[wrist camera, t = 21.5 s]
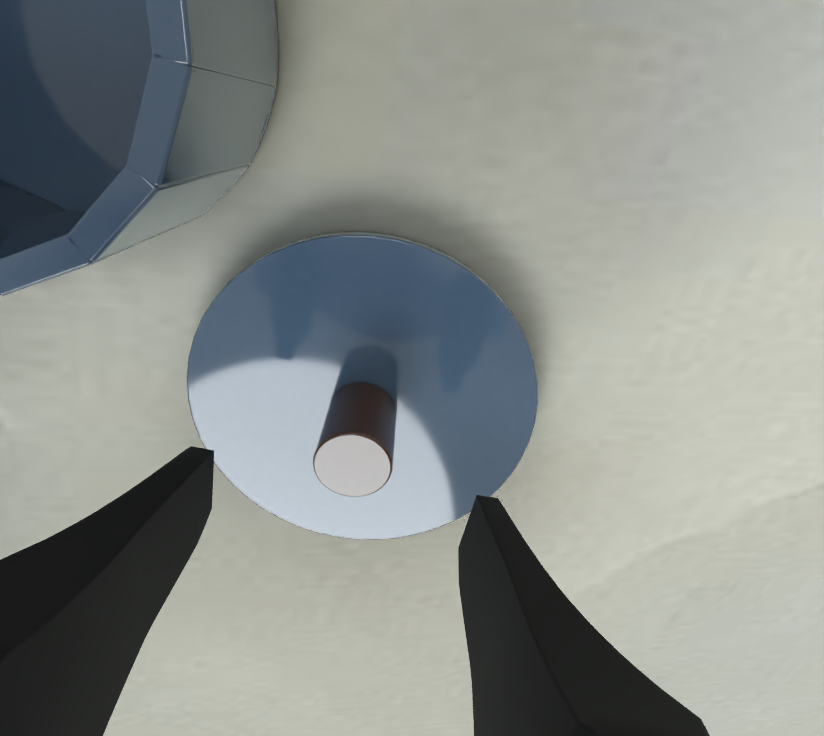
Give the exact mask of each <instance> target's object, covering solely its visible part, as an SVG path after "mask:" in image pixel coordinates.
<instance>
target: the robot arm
mask: <svg viewBox="0 0 824 736" xmlns="http://www.w3.org/2000/svg"><path fill="white" fill-rule="evenodd" d="M213 467H214V450H209V449H203V448H197V447H189V448H188V449H186V450H185V451H183V452H182V453H181V454H179V455H178V456H177V457H175V458H174V459H172V460H171V461H170V462H168V463H167V464H166V465H164V466H163V467H162V468H160V469H159V470H157V471H156V472H155V473H153V474H152V475H151V476H149V477H148V478H146V479H145V480H143V481H142V482H141V483H139V484H138V485H136V486H135V487H133V488H132V489H130V490H129V491H127V492H126V493H125V494H123V495H121V496H120V497H118V498H117V499H115V500H114V501H112V502H110V503H109V504H107V505H106V506H104V507H102V508H101V509H99V510H98V511H96V512H94V513H93V514H91V515H89V516H88V517H86V518H84V519H83V520H81V521H79V522H77V523H76V524H74V525H72V526H70V527H68V528H66V529H64V530H63V531H61V532H59V533H57V534H55V535H53V536H51V537H49V538H47V539H45V540H43V541H41V542H39V543H36V544H34V545H32V546H30V547H28V548H25V549H23V550H21V551H19V552H17V553H14V554H12V555H10V556H8V557H6V558H3V559H1V560H0V736H103V734H104V731H105V729H106V727H107V724H108V722H109V719H110V717H111V715H112V712H113V710H114V708H115V705H116V703H117V701H118V698H119V696H120V694H121V691H122V689H123V687H124V684H125V682H126V680H127V677H128V675H129V673H130V671H131V668H132V666H133V664H134V662H135V659H136V657H137V655H138V653H139V651H140V648H141V646H142V644H143V642H144V639H145V637H146V635H147V633H148V632H149V630H150V628H151V626H152V624H153V622H154V620H155V618H156V616H157V615H158V613H159V611H160V609H161V608H162V606H163V604H164V602H165V601H166V599H167V597H168V595H169V593H170V592H171V590H172V588H173V586H174V585H175V583H176V581H177V579H178V578H179V576H180V574H181V572H182V571H183V569H184V567H185V565H186V563H187V562H188V560H189V558H190V556H191V554H192V553H193V551H194V549H195V547H196V545H197V543H198V541H199V539H200V536H201V534H202V532H203V529H204V527H205V524H206V522H207V519H208V517H209V514H210V512H211V509H212V490H213ZM459 587H460V595H461V602H462V610H463V617H464V624H465V631H466V638H467V645H468V652H469V660H470V668H471V678H472V693H473V716H474V736H710V735H709V734H708V732H707V730H706V728H705V726H704V724H703V722H702V720H701V719H700V718H699V717H697V716H696V715H695V714H694V713H692V712H691V711H690V710H688V709H687V708H686V707H684V706H683V705H682V704H680V703H679V702H678V701H676V700H675V699H674V698H673V697H671V696H670V695H669V694H667V693H666V692H665V691H663V690H662V689H661V688H660V687H658V686H657V685H656V684H655V683H653V682H652V681H651V680H650V679H649V678H648V677H646V676H645V675H644V674H643V673H642V672H641V671H639V670H638V669H637V668H636V667H635V666H634V665H632V664H631V663H630V662H629V661H628V660H627V659H626V658H625V657H624V656H623V655H621V654H620V653H619V652H618V651H617V650H616V649H615V648H614V647H613V646H612V645H611V644H610V643H609V642H608V641H607V640H606V639H605V638H604V637H603V636H602V635H601V634H600V633H599V632H598V631H597V630H596V629H595V628H594V627H593V626H592V625H591V624H590V623H589V622H588V621H587V620H586V619H585V618H584V616H583V615H582V614H581V613H580V612H579V611H578V610H577V609H576V607H575V606H574V605H573V604H572V603H571V602H570V601H569V600H568V598H567V597H566V596H565V595H564V593H563V592H562V591H561V590H560V589H559V587H558V586H557V585H556V583H555V582H554V581H553V580H552V578H551V577H550V576H549V574H548V573H547V572H546V570H545V569H544V568H543V566H542V565H541V564H540V562H539V561H538V559H537V558H536V556H535V555H534V553H533V552H532V550H531V549H530V548H529V546H528V545H527V543H526V542H525V540H524V539H523V537H522V535H521V534H520V532H519V531H518V529H517V528H516V526H515V524H514V523H513V521H512V520H511V518H510V516H509V515H508V513H507V512H506V510H505V509H504V507H503V505H502V504H501V502H500V501H499V499H498V498H493V497H487V496H481V495H477V496H476V499H475V502H474V504H473V507H472V510H471V513H470V516H469V519H468V522H467V525H466V528H465V531H464V534H463V537H462V540H461V542H460V545H459Z"/></svg>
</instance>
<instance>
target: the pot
mask: <svg viewBox="0 0 824 736" xmlns="http://www.w3.org/2000/svg"><path fill="white" fill-rule="evenodd" d="M277 74H278V31H277V20H276V8H275V3H274V0H0V295H7V294H10V293H13V292H15V291H18V290H21V289H24V288H27V287H30V286H32V285H35V284H38V283H41V282H44V281H46V280H49V279H52V278H55V277H58V276H61V275H63V274H66V273H69V272H72V271H75V270H77V269H80V268H83V267H86V266H89V265H91V264H94V263H96V262H98V261H100V260H103V259H105V258H107V257H109V256H112V255H114V254H116V253H119V252H121V251H123V250H125V249H128V248H130V247H132V246H134V245H137V244H139V243H141V242H144V241H146V240H148V239H150V238H153V237H155V236H157V235H159V234H162V233H164V232H166V231H168V230H171V229H173V228H175V227H178V226H180V225H182V224H184V223H187V222H189V221H191V220H193V219H196V218H198V217H200V216H201V215H203V214H204V213H205V212H206V211H207V210H208V209H209V208H210V207H211V206H212V205H213V204H214V203H215V202H216V201H218V200H219V199H220V198H221V197H222V196H223V195H224V194H225V193H226V192H228V191H229V190H230V189H231V187H232V186H233V185H234V184H235V182H236V181H237V180H238V179H239V178H240V176H241V175H242V174H243V173H244V171H245V170H246V169H247V168H248V167H249V164H250V163H251V162H252V159H253V157H254V155H255V153H256V151H257V149H258V147H259V144H260V142H261V139H262V137H263V135H264V132H265V130H266V127H267V124H268V120H269V117H270V113H271V109H272V105H273V102H274V95H275V91H276V85H277Z"/></svg>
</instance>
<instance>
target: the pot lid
mask: <svg viewBox="0 0 824 736" xmlns="http://www.w3.org/2000/svg"><path fill="white" fill-rule="evenodd" d="M187 388H188V400H189V405H190V409H191V414H192V418H193V421H194V424H195V426H196V429H197V432H198V435H199V437H200V439H201V441H202V443H203V445H204V446H205V448H206V449H209V450H214V463H215V464H216V465H217V467H218V468H219V470H220V471H221V472H222V473H223V474H224V475H225V476H226V478H227V479H228V480H229V481H230V482H231V483H232V484H233V485H234V486H235V487H236V488H237V489H238V490H240V491H241V492H242V493H243V494H244V495H245V496H246V497H247V498H249V499H250V500H252V501H253V502H254V503H256V504H257V505H259V506H260V507H262V508H263V509H264V510H266V511H268V512H270V513H272V514H273V515H275V516H277V517H279V518H281V519H283V520H285V521H287V522H290V523H292V524H294V525H297V526H299V527H302V528H305V529H308V530H311V531H314V532H317V533H321V534H326V535H331V536H335V537H342V538H350V539H368V540H379V539H391V538H400V537H405V536H411V535H416V534H420V533H423V532H426V531H430V530H433V529H436V528H438V527H441V526H443V525H446V524H448V523H451V522H453V521H455V520H457V519H458V518H460V517H462V516H464V515H466V514H467V513H469V512H471V510H472V507H473V504H474V502H475V499H476V496H477V495H481V496H487V497H490V496H491V495H492V494H494V493H495V492H496V491H497V490H498V489H499V488H500V487H501V486H502V484H503V483H504V482H505V481H506V480H507V478H508V477H509V476H510V475H511V474H512V472H513V470H514V469H515V467H516V466H517V464H518V463H519V461H520V460H521V458H522V456H523V453H524V451H525V449H526V447H527V445H528V443H529V440H530V437H531V434H532V430H533V427H534V423H535V418H536V411H537V404H538V392H537V377H536V371H535V365H534V361H533V357H532V354H531V351H530V348H529V345H528V342H527V340H526V338H525V336H524V334H523V332H522V330H521V328H520V326H519V324H518V322H517V320H516V318H515V316H514V315H513V314H512V312H511V311H510V309H509V308H508V306H507V305H506V304H505V302H504V301H503V299H502V298H501V297H500V296H499V295H498V294H497V293H496V292H495V291H494V290H493V289H492V288H491V286H490V285H489V284H488V283H487V282H486V281H485V280H483V279H482V278H481V277H480V276H478V275H477V274H476V273H475V272H473V271H472V270H471V269H470V268H468V267H467V266H466V265H464V264H462V263H461V262H459V261H457V260H456V259H454V258H452V257H451V256H449V255H447V254H446V253H443V252H441V251H439V250H436V249H434V248H432V247H430V246H427V245H425V244H423V243H419V242H416V241H412V240H409V239H405V238H402V237H398V236H393V235H386V234H379V233H373V232H340V233H332V234H324V235H317V236H313V237H310V238H306V239H302V240H298V241H295V242H292V243H290V244H287V245H285V246H283V247H280V248H278V249H275V250H273V251H271V252H269V253H268V254H266V255H264V256H263V257H261V258H259V259H258V260H256V261H254V262H253V263H251V264H250V265H249V266H247V267H246V268H245V269H244V270H243V271H241V272H240V273H239V274H238V275H237V276H235V277H234V278H233V279H232V280H231V281H230V282H229V283H228V284H227V285H226V286H225V287H224V288H223V289H222V291H221V292H220V293H219V294H218V295H217V296H216V297H215V298H214V300H213V301H212V303H211V305H210V306H209V308H208V309H207V311H206V312H205V314H204V316H203V317H202V319H201V322H200V324H199V326H198V329H197V331H196V333H195V336H194V338H193V342H192V346H191V350H190V354H189V360H188V371H187Z"/></svg>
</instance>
